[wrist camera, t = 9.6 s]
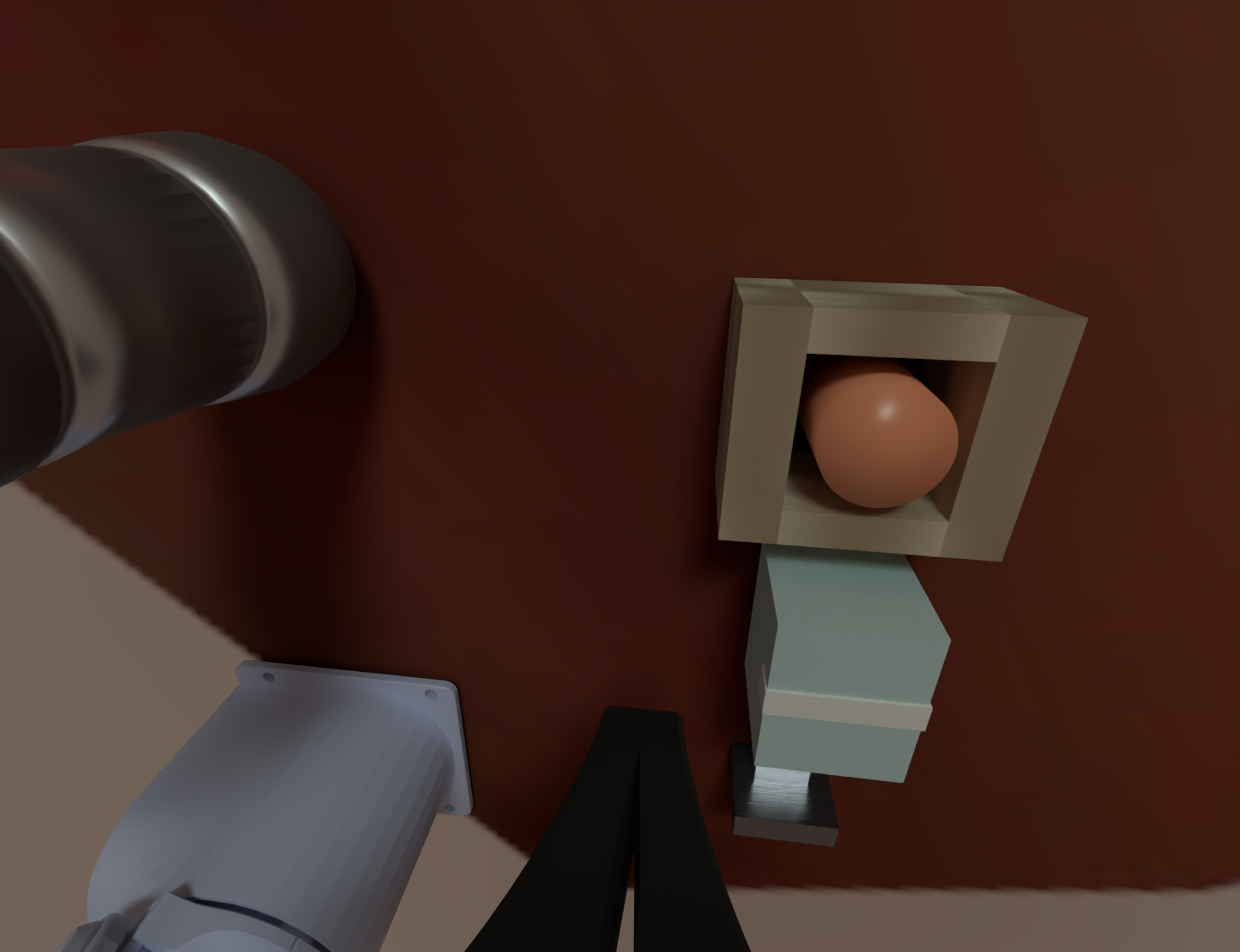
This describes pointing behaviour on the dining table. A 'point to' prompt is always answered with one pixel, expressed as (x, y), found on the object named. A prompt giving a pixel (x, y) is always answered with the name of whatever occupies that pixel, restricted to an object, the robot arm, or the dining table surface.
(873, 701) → the block
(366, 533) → the dining table surface
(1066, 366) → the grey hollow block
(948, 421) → the button
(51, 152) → the plastic bottle
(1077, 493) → the dining table surface
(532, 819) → the dining table surface
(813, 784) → the rail
